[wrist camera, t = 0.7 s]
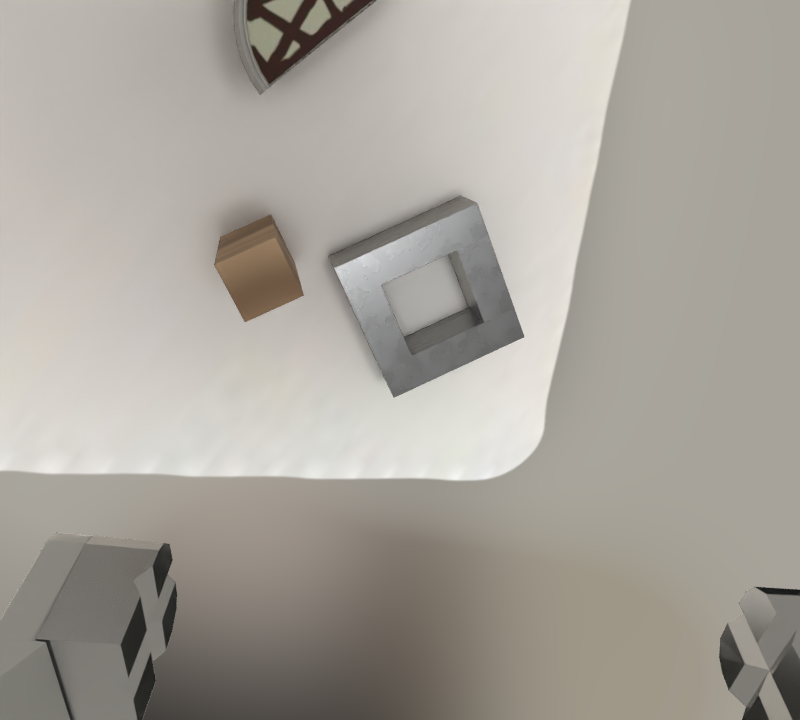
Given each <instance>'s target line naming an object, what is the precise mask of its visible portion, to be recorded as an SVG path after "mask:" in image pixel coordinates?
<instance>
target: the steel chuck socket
mask: <svg viewBox="0 0 800 720" xmlns="http://www.w3.org/2000/svg"><path fill="white" fill-rule="evenodd" d="M445 255H449V257H450V260H451V263H452V265H453V268H454V270H455V273H456V276H457V278H458V281H459V284H460V286H461V289H462V291H463V294H464V297H465V299H466V302H467V304H468V307H469V308H467V309H465V310H463V311H461V312H458V313H456V314H454V315H452V316H450V317H448V318H445V319H443V320H441V321H439V322H437V323H435V324H432V325H430V326H428V327H426V328H424V329H422V330H419V331H417V332H415V333H413V334H411V335H409V336H406V337H403V335H402V333H401V330H400V328H399V326H398V323H397V321H396V319H395V317H394V314H393V312H392V310H391V307H390V305H389V303H388V300H387V298H386V296H385V293H384V291H383V289H382V287H381V285H382V284H384V283H387V282H389V281H391V280H393V279H395V278H397V277H400V276H402V275H404V274H406V273H408V272H411V271H413V270H415V269H417V268H419V267H421V266H424V265H426V264H428V263H430V262H432V261H435V260H437V259H439V258H441V257H443V256H445ZM329 259H330V261H331V263H332V265H333V267H334V270H335V272H336V274H337V276H338V278H339V280H340V283H341V285H342V287H343V289H344V291H345V293H346V296H347V298H348V300H349V302H350V304H351V307H352V309H353V311H354V313H355V315H356V317H357V320H358V322H359V324H360V326H361V328H362V330H363V333H364V335H365V337H366V339H367V341H368V344H369V346H370V348H371V350H372V352H373V354H374V357H375V359H376V361H377V363H378V365H379V367H380V370H381V372H382V374H383V376H384V378H385V380H386V382H387V385H388V387H389V389H390V391H391V393H392V395H393V397H396V396H399V395H401V394H403V393H405V392H407V391H409V390H411V389H414V388H416V387H418V386H420V385H422V384H424V383H426V382H429V381H431V380H433V379H435V378H437V377H439V376H441V375H444V374H446V373H448V372H450V371H452V370H454V369H457V368H459V367H461V366H463V365H465V364H467V363H469V362H472V361H474V360H476V359H478V358H480V357H482V356H484V355H487V354H489V353H491V352H493V351H495V350H497V349H499V348H502V347H504V346H506V345H508V344H510V343H512V342H514V341H517V340H519V339H521V338H523V337H524V335H523V332H522V329H521V326H520V323H519V320H518V318H517V315H516V312H515V309H514V306H513V303H512V301H511V298H510V295H509V292H508V289H507V286H506V284H505V281H504V278H503V275H502V272H501V269H500V267H499V264H498V261H497V258H496V255H495V252H494V249H493V247H492V244H491V241H490V238H489V235H488V232H487V230H486V227H485V224H484V221H483V218H482V215H481V213H480V210H479V207H478V204H477V203H476V202H473V201H471V200H469V199H467V198H465V197H462V196H460V197H458V198H456V199H453V200H451V201H449V202H447V203H445V204H442V205H440V206H438V207H436V208H434V209H431V210H429V211H427V212H425V213H423V214H420V215H418V216H416V217H414V218H412V219H409V220H407V221H405V222H403V223H401V224H399V225H396V226H394V227H392V228H390V229H388V230H385V231H383V232H381V233H379V234H377V235H374V236H372V237H370V238H368V239H366V240H363V241H361V242H359V243H357V244H355V245H352V246H350V247H348V248H346V249H344V250H341V251H339V252H337V253H335V254H333V255H330V256H329Z"/></svg>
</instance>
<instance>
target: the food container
mask: <svg viewBox="0 0 800 720" xmlns="http://www.w3.org/2000/svg"><path fill="white" fill-rule="evenodd" d="M375 1H376V0H235V1H234V28H235V35H236V41H237V46H238V49H239V53H240V56H241V59H242V63H243V65H244V67H245V69H246V71H247V73H248V76H249V78H250V80H251V82H252V83H253V85H254V86H255V88H256V89H257V91H258V92H259V94H261V93H263V92H264V91H265V90H267V89H268V88H269V87H270V86H271V85H272V84H274V83H275V82H276V81H277V80H278V79H279V78H281V77H282V76H283V75H284V74H286V73H287V72H288V71H289V70H291V69H292V68H293V67H294V66H296V65H297V64H298V63H299V62H300V61H302V60H303V59H304V58H305V57H307V56H308V55H309V54H311V53H312V52H313V51H314V50H315V49H317V48H318V47H319V46H320V45H322V44H323V43H324V42H325V41H327V40H328V39H329V38H330V37H332V36H333V35H334V34H335V33H337V32H338V31H339V30H340V29H341V28H343V27H344V26H345V25H346V24H348V23H349V22H350V21H351V20H353V19H354V18H355V17H356V16H358V15H359V14H360V13H361V12H363V11H364V10H365V9H366V8H368V7H369V6H370V5H371V4H373V3H374V2H375Z"/></svg>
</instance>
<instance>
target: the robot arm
mask: <svg viewBox="0 0 800 720" xmlns="http://www.w3.org/2000/svg"><path fill="white" fill-rule="evenodd" d="M172 560H173V559H172V554H171V549H170V544H167V543H161V542H151V541H141V540H132V539H122V538H112V537H102V536H90V535H79V534H68V533H55V534H54V535H53V536H52V537H51V538H50V539H49V540H48V541H46V542H45V544H44V546H43V547H42V549H41V551H40V553H39V554H38V556H37V558H36V559H35V561H34V562H33V564H32V566H31V568H30V569H29V571H28V573H27V574H26V576H25V578H24V579H23V581H22V583H21V585H20V586H19V588H18V590H17V591H16V593H15V595H14V596H13V598H12V600H11V601H10V603H9V605H8V607H7V608H6V610H5V612H4V613H3V615H2V617H1V618H0V720H142V719H143V716H144V714H145V711H146V707H147V705H148V702H149V699H150V696H151V693H152V690H153V687H154V684H155V682H156V679H155V673H154V667H153V661H154V660H155V659H156V658H158V657H159V656H160V655H161V654H162V653H163V652H165V651H166V649H167V646H168V642H169V640H170V636H171V633H172V630H173V625H174V619H175V614H176V609H177V591H176V590H177V589H176V582H175V581H174V580H173V579H172V578H171V577H170V576H169V575H168V572H169V569H170V566H171V563H172ZM739 605H740V607H741V609H742V611H743V614H742V615H741V616H739V617H738V618H736V619H734V620H732V621H730V622H729V623H727V626H726V628H725V630H724V632H723V634H722V636H721V638H720V653H719V658H720V663H721V669H722V674H723V676H724V679H725V682H726V684H727V687H728V690H729V691H730V692H731V693H732V694H733V695H734V696H735V697H736V698H737V699H738V700H739V701H740V702H741V703H742V704H743V705H745V706H746V708H745V712H744V715H743V718H742V720H800V590H797V589H781V588H766V587H753V588H751V589H749V590H748V591H746V592H745V594H744V595H743V597H742V599H741V600H740V602H739Z"/></svg>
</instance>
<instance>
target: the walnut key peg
mask: <svg viewBox="0 0 800 720" xmlns="http://www.w3.org/2000/svg"><path fill="white" fill-rule="evenodd" d="M214 265H215V267H216V269H217V271H218V273H219V275H220V276H221V278H222V280H223V282H224V284H225V286H226V288H227V289H228V291H229V293H230V295H231V297H232V299H233V301H234V303H235V304H236V306H237V308H238V310H239V312H240V314H241V316H242V318H243V319H244V321H245V322H247V321H249V320H251V319H253V318H255V317H258V316H260V315H262V314H264V313H266V312H269V311H271V310H273V309H275V308H277V307H280V306H282V305H284V304H286V303H288V302H290V301H293V300H295V299H297V298H299V297H301V296H304V295H303V291H302V288H301V284H300V280H299V277H298V273H297V269H296V266H295V263H294V261H293V259H292V257H291V255H290V253H289V251H288V249H287V246H286V244H285V242H284V240H283V238H282V236H281V234H280V232H279V230H278V228H277V226H276V224H275V222H274V220H273V218H272V215H269V216H267V217H265V218H262V219H260V220H258V221H256V222H254V223H251V224H249V225H247V226H245V227H242V228H240V229H238V230H236V231H234V232H231V233H229V234H227V235H225V236H222V237H220V241H219V246H218V250H217V255H216V259H215V264H214Z"/></svg>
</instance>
